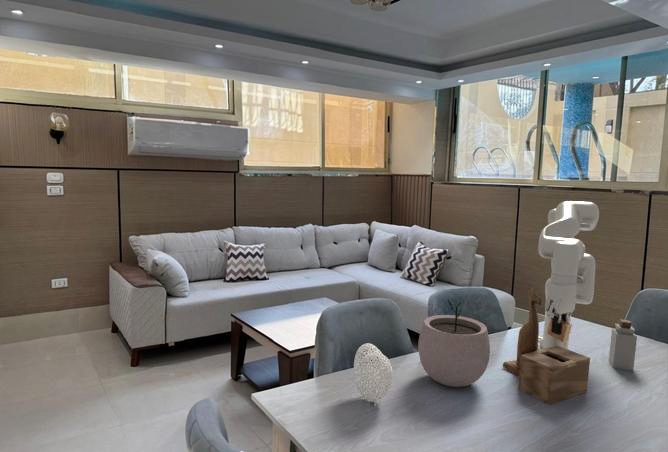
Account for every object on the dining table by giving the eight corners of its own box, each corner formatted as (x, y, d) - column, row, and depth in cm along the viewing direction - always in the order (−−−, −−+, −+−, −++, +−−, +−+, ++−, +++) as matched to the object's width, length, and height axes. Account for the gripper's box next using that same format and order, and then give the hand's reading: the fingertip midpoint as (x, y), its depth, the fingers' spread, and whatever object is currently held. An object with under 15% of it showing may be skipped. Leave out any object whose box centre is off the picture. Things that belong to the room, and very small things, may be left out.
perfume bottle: (628, 363, 177) (633, 319, 175) (633, 370, 171) (638, 324, 169) (608, 360, 179) (613, 317, 177) (613, 367, 173) (617, 322, 171)
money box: (517, 388, 153) (520, 355, 151) (554, 377, 163) (557, 345, 161) (549, 405, 142) (552, 368, 141) (586, 391, 152) (590, 357, 151)
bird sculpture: (525, 382, 159) (536, 294, 155) (501, 367, 170) (510, 285, 165) (548, 377, 164) (559, 292, 159) (523, 363, 174) (532, 283, 170)
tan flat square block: (562, 342, 147) (546, 333, 152) (567, 341, 148) (551, 332, 153) (567, 325, 145) (551, 317, 150) (572, 324, 147) (555, 316, 152)
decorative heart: (398, 414, 134) (401, 359, 132) (365, 418, 131) (367, 362, 129) (376, 386, 151) (378, 337, 149) (346, 390, 148) (348, 340, 146)
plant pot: (499, 382, 157) (505, 299, 154) (467, 406, 140) (473, 313, 136) (438, 361, 173) (443, 285, 170) (403, 381, 156) (407, 297, 152)
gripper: (567, 274, 154) (562, 325, 157) (538, 278, 147) (533, 333, 149) (589, 279, 148) (583, 332, 150) (559, 284, 140) (554, 340, 142)
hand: (558, 332), depth 150 cm, fingers closed on tan flat square block, 2 cm apart
